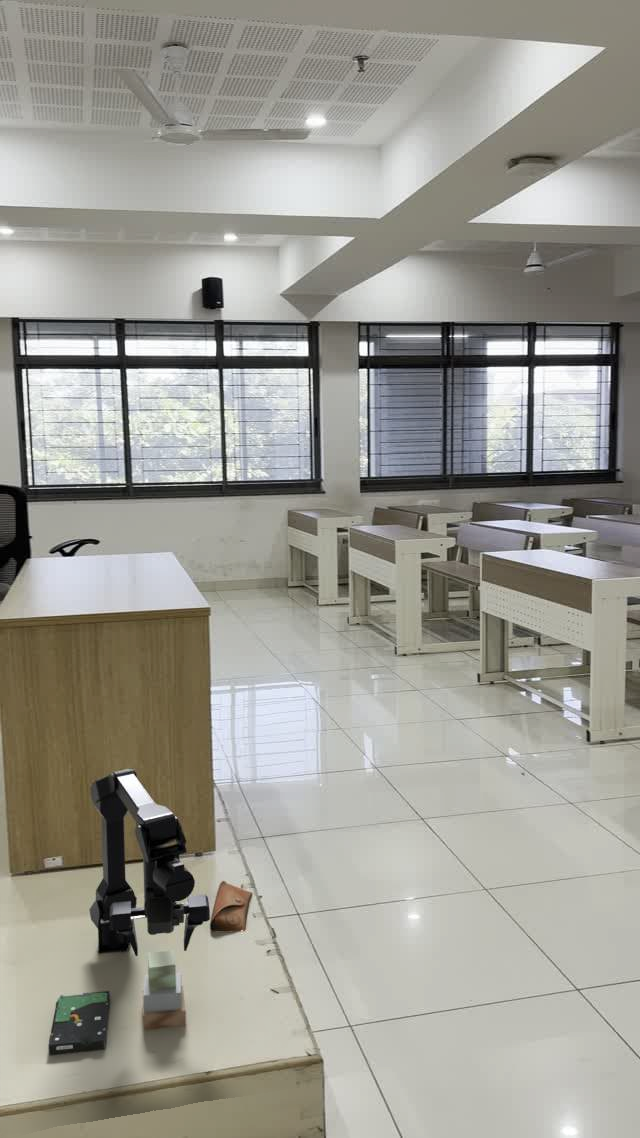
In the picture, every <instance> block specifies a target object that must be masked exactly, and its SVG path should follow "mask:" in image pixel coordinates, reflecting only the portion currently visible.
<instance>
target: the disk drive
mask: <svg viewBox="0 0 640 1138" xmlns="http://www.w3.org/2000/svg"><path fill="white" fill-rule="evenodd" d="M110 1005H111V991H110V990H107V991H92V992H83V993H81V994H72V995H65V996H64V995H63V994H62V995H59V997H58V998H57V1000H56V1002H55V1008H54V1014H53V1018H52V1026H51V1030H50V1035H49V1038H48V1039H49V1040H48V1055H49V1056H55V1055H66V1054H74V1053H85V1052H94V1051H95V1052H96V1051H105V1050H106V1047H107V1037H108V1036H107V1035H108V1023H109V1015H110V1014H109V1013H110V1007H111V1006H110Z"/></svg>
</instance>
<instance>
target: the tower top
mask: <svg viewBox="0 0 640 1138" xmlns="http://www.w3.org/2000/svg"><path fill="white" fill-rule="evenodd" d="M182 986H183V985H182V971H181V970H180V971H178V970H177V971H176V988H174V989H166V990H159V991H151V992H150V989H149V976H148V973H145V975H144V986H143V990H144V995H143V996H142V998H143V997H144V1012H153V1011H166V1010H178V1009H181V988H182Z"/></svg>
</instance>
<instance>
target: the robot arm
mask: <svg viewBox="0 0 640 1138" xmlns="http://www.w3.org/2000/svg"><path fill="white" fill-rule="evenodd" d="M89 792H90V793H89V794H90V795H89V796H90V799H91V801H92V805H93V806H94V807H95V809H96V811H97V812H98V813H99V814H100V817H101V818H100V819H101V845H102V846H101V847H102V849H101V850H102V880H101V881H100V883H99V884H98V886H97V888H96V889H95V900H94V902H93V903H92V905H91V907H90V908H89V916H90V920H91V922H92V923H93V924H94V925H95V927H96V929H97V936H98V937H97V940H98V941H97V942H98V943H97V944H98V945H97V953H98V954H105V953H106V954H107V953H115V952H116V953H117V952H125V951H128V950H129V944H130V946H131V948H132V951H133V952H134V955H135V956H136V957H138V956H139V952H138V951H139V949H138V947H139V946H138V940H137V939H138V938H137V931H136V927H135V924H136V923H135V920H139V919H146V925H147V926H146V928H147V933H148V934H149V935H150V936H151V935H152V936H155V935H157V934H171V933H173V932H174V930H175V927H177V926H180V924H184V929H183V930H184V933H183V951H184V952H187V950H188V947H189V943H190V941H191V938H192V935H193V933H194V931H195V930H196V928H197V927H198V926H201V925H203V923H204V922H205V923H206V922H208V921H211V915H210V914H211V912H210V902H209V897H208V895H207V894H205V893H204V894H193V895H191V894H192V893H193V891H194V887H195V883H196V882H195V880H196V879H195V878H194V875H193V874H192V873H191V872H190V871H189V870H188V869H187V868H186V867H185V863H184V862H182V861H181V860H180V855H184V854H187V852H188V851H187V847H186V844H187V839H186V836H185V834H184V831H183V828H182V824H181V822H180V821H179V819H178V817H177V816H176V815H175V814H174V813H173V812H172V811H171V810H170V809H169V808H168V807H166V806H164V805H162V804H161V805H160V804H157V803H156V802H155V801H154V800H153V798H152V796H150V794H149V793H148V791H147V790H146V789H145V787H144V786H143V784H142V783H141V782H140V780H139V778H138V774H137V772H136V770H135V769H134V768H133V769H131V768H126V769H121V770H115V771H113V772H111V773H109V774H108V775H107V776H104V777H101V778H97V779H95V780H94V782H92V784H91V786H90V788H89ZM127 813H129V814H130V815H131V817H132V819H133V820H134V821H135V828H134V829H135V836H136V837H135V838H136V840H137V843H138V846H139V849H140V851H141V854H142V860H143V861H142V864H143V892H144V893H143V894H144V895H143V896H144V900H143V901H144V902H143V903H144V904H143V907H142V906H141V907H137V903H138V902H137V896H136V895H135V891H134V890H133V888H132V887H131V886H130V884H129V882H128V881H127V878H126V850H125V847H126V846H125V844H126V843H125V841H126V840H125V816H126V815H127ZM173 842H176V843H175V844H172V845H168V846H167V844H171V843H173ZM185 899H187V902H183V903H177V902H182V901H183V900H185Z"/></svg>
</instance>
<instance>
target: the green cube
mask: <svg viewBox="0 0 640 1138" xmlns="http://www.w3.org/2000/svg"><path fill="white" fill-rule="evenodd" d="M147 968H148V969H147V971H148V972H147V974H148V976H149V989H150V992H151V991H159V990H166V989H174V988H176V969H177V968H176V958H175V949H171V950H161V951H154V952H148V953H147Z"/></svg>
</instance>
